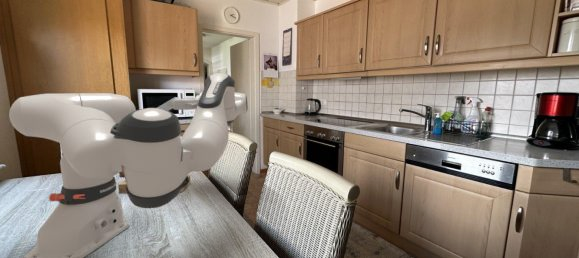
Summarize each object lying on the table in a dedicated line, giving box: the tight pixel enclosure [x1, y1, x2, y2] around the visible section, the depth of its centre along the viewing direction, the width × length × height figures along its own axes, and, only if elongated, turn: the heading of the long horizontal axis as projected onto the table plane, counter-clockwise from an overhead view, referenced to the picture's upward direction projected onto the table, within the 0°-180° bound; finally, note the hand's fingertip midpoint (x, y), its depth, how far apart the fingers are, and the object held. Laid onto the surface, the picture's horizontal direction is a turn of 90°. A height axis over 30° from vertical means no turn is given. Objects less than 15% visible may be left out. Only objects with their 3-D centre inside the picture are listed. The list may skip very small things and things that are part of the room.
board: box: [117, 174, 191, 194], centre depth 102 cm, size 10×24×4 cm, turn 92°
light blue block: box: [156, 96, 181, 111], centre depth 98 cm, size 4×22×2 cm, turn 92°
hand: (170, 103), depth 97 cm, fingers closed on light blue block, 4 cm apart
